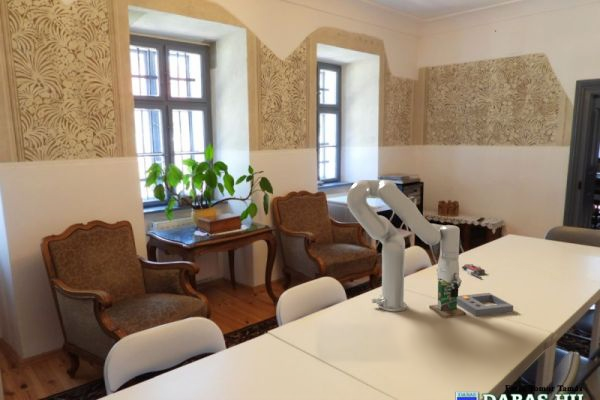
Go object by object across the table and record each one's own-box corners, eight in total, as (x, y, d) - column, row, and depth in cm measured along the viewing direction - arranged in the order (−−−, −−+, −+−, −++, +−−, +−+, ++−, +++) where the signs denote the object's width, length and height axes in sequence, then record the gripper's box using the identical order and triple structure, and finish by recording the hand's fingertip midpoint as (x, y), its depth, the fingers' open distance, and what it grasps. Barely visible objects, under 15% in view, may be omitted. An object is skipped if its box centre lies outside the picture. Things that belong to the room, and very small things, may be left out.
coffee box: (440, 311, 181) (441, 281, 179) (436, 308, 184) (437, 279, 182) (457, 309, 183) (458, 280, 181) (453, 306, 186) (454, 278, 184)
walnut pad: (442, 317, 177) (442, 315, 177) (429, 307, 187) (429, 305, 187) (466, 315, 179) (466, 312, 179) (451, 305, 190) (451, 303, 190)
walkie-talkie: (458, 269, 243) (479, 280, 223) (458, 262, 242) (479, 272, 223) (472, 268, 245) (494, 279, 225) (472, 261, 244) (494, 271, 224)
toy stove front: (475, 316, 177) (476, 308, 177) (454, 302, 193) (454, 295, 192) (513, 312, 181) (513, 304, 181) (488, 298, 197) (489, 291, 196)
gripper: (430, 250, 187) (429, 287, 190) (453, 260, 171) (451, 301, 173) (445, 248, 189) (444, 285, 191) (469, 259, 172) (467, 299, 175)
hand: (447, 292), depth 182 cm, fingers open, 9 cm apart
